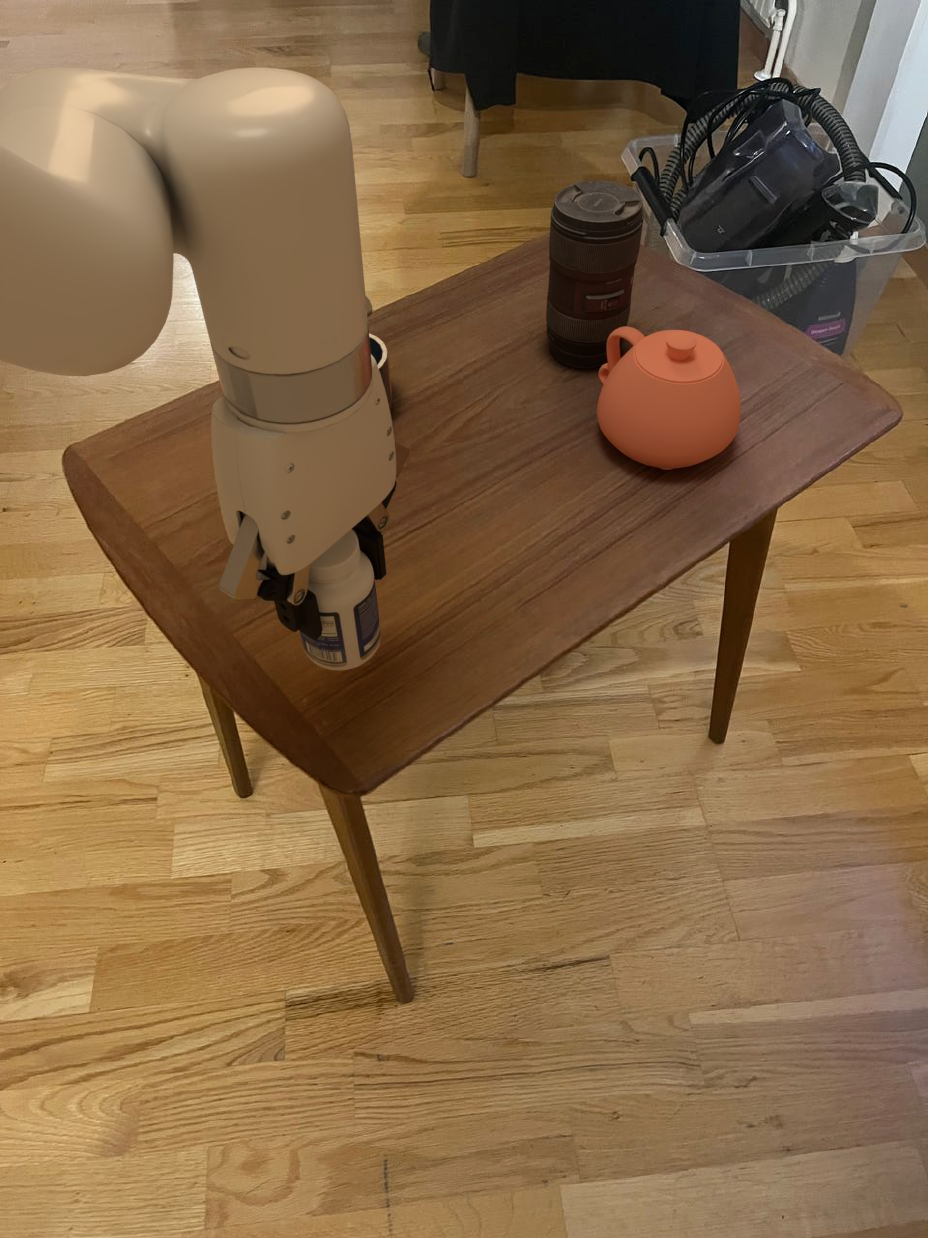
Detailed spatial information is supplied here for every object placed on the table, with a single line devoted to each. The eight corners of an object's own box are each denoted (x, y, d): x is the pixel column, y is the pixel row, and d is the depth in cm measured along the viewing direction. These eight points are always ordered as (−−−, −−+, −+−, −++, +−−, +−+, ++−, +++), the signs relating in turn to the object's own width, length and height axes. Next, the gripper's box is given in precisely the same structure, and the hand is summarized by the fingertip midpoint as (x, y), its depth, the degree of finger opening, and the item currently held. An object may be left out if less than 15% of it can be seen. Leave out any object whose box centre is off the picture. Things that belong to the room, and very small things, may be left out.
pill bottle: (363, 601, 65) (351, 501, 57) (393, 655, 62) (384, 558, 54) (291, 627, 63) (269, 528, 56) (318, 684, 60) (298, 588, 53)
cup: (294, 410, 85) (284, 361, 81) (348, 369, 89) (341, 320, 85) (356, 442, 82) (348, 392, 78) (409, 398, 86) (404, 348, 82)
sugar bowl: (670, 504, 76) (692, 407, 68) (552, 425, 83) (559, 327, 75) (761, 438, 81) (790, 340, 73) (642, 368, 88) (657, 271, 80)
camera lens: (636, 334, 91) (658, 186, 80) (609, 381, 87) (628, 231, 75) (560, 316, 94) (571, 169, 82) (530, 360, 89) (537, 212, 77)
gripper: (352, 261, 50) (376, 498, 65) (106, 420, 42) (195, 654, 56) (460, 307, 48) (460, 545, 62) (220, 488, 39) (283, 716, 53)
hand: (334, 595), depth 59 cm, fingers closed on pill bottle, 5 cm apart
